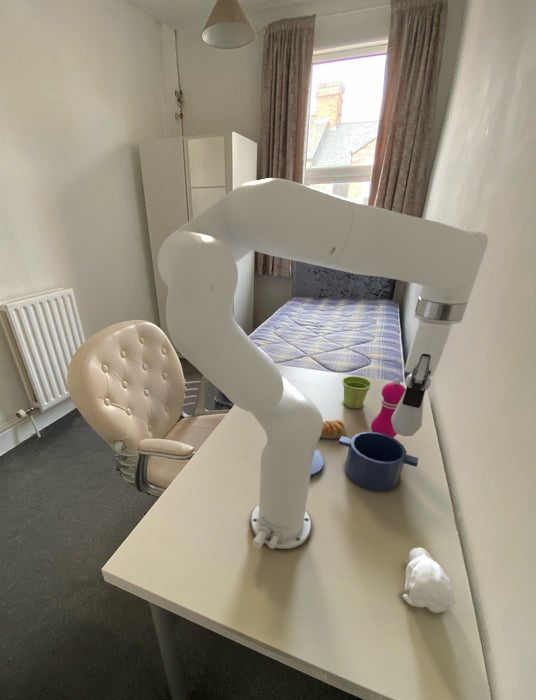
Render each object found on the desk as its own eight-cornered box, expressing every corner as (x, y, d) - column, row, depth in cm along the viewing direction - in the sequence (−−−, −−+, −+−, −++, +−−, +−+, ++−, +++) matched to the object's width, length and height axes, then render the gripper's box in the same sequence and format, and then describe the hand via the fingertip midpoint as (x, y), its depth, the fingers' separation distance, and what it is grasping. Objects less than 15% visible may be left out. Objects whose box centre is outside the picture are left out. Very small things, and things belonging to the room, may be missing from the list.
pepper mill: (398, 440, 97) (416, 378, 87) (388, 451, 93) (406, 387, 83) (374, 430, 102) (388, 370, 92) (363, 440, 97) (378, 379, 87)
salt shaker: (420, 428, 72) (438, 374, 65) (416, 442, 68) (435, 385, 61) (391, 420, 75) (406, 367, 68) (386, 432, 70) (401, 377, 64)
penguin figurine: (416, 580, 51) (407, 525, 62) (403, 616, 55) (396, 558, 65) (462, 594, 49) (445, 534, 60) (446, 629, 53) (432, 568, 63)
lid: (314, 486, 81) (316, 468, 78) (263, 467, 87) (264, 450, 84) (329, 454, 91) (332, 438, 89) (283, 440, 97) (284, 424, 95)
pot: (406, 502, 76) (416, 474, 72) (329, 476, 84) (334, 449, 80) (411, 470, 86) (420, 443, 82) (341, 449, 94) (346, 424, 89)
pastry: (317, 442, 96) (319, 431, 95) (308, 429, 102) (309, 419, 100) (347, 437, 98) (349, 427, 96) (336, 425, 104) (337, 415, 102)
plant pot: (335, 406, 114) (338, 384, 110) (342, 395, 121) (346, 373, 116) (363, 414, 110) (368, 391, 105) (369, 402, 116) (374, 379, 112)
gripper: (420, 298, 66) (398, 380, 75) (410, 318, 54) (385, 414, 63) (464, 302, 63) (435, 388, 72) (464, 325, 50) (429, 425, 59)
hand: (412, 399), depth 67 cm, fingers closed on salt shaker, 4 cm apart
